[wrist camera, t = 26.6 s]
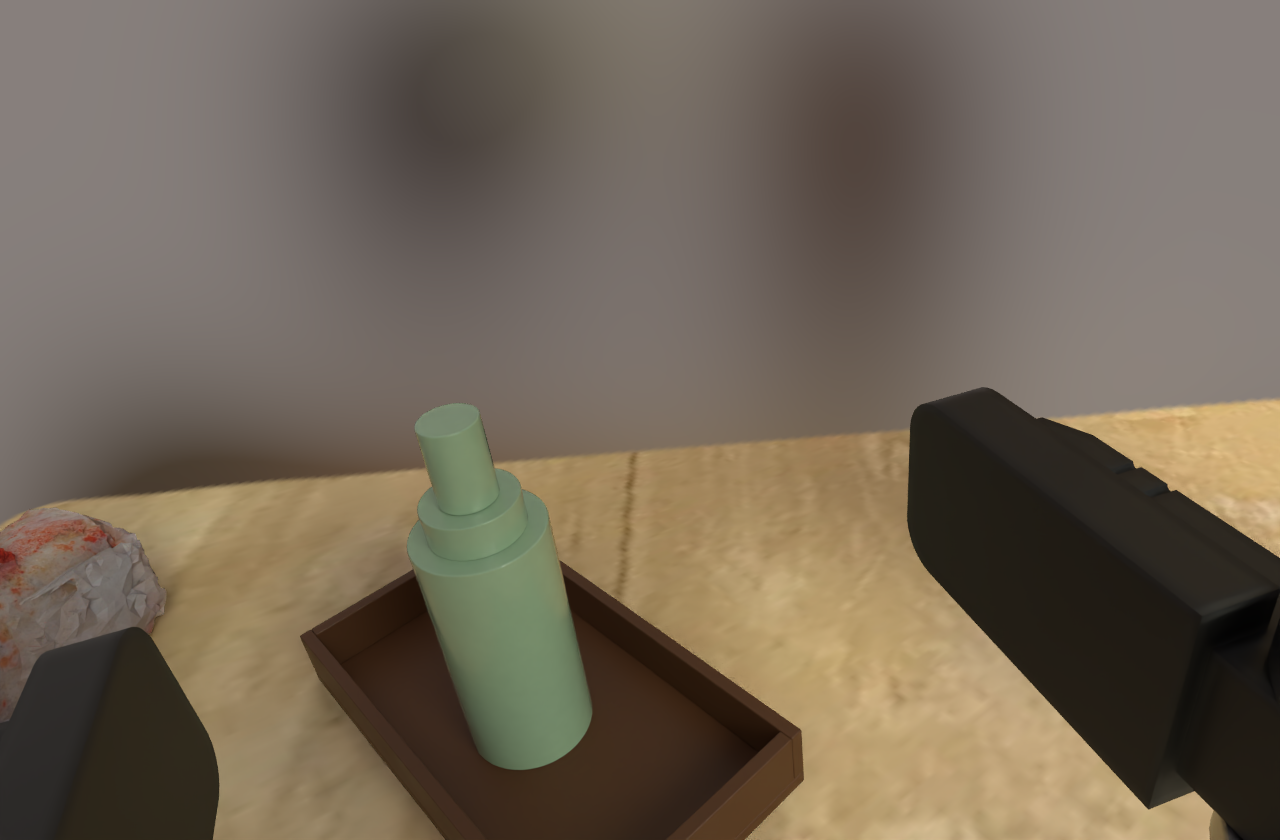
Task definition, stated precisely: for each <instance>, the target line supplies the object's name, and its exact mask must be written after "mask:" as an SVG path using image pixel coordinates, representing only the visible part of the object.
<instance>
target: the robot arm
mask: <svg viewBox="0 0 1280 840" xmlns="http://www.w3.org/2000/svg"><path fill="white" fill-rule="evenodd" d="M907 522H908V529H909V533H910V537H911V540H912V543H913V546H914V549H915V551H916V553H917V555H918V557H919V559H920V560H921V562H922V564H923V565H924V567H925V568H926V569H927V571H928V572H929V573H930V574H931V575H932V576H933V577H934V578H935V580H936V581H937V582H938V583H939V584H940V585H941V586H942V587H943V588H944V589H945V590H946V591H947V592H948V594H949V595H950V596H951V597H952V598H953V599H954V600H955V601H956V602H957V603H958V604H959V605H960V607H961V608H962V609H963V610H964V611H965V612H966V613H967V614H968V615H969V616H970V617H971V618H972V619H973V621H974V622H975V623H976V624H977V625H978V626H979V627H980V628H981V629H982V630H983V631H984V632H985V634H986V635H987V636H988V637H989V638H990V639H991V640H992V641H993V642H994V643H995V644H996V645H997V646H998V648H999V649H1000V650H1001V651H1002V652H1003V653H1004V654H1005V655H1006V656H1007V657H1008V658H1009V659H1010V661H1011V662H1012V663H1013V664H1014V665H1015V666H1016V667H1017V668H1018V669H1019V670H1020V671H1021V672H1022V674H1023V675H1024V676H1025V677H1026V678H1027V679H1028V680H1029V681H1030V682H1031V683H1032V684H1033V685H1034V686H1035V688H1036V689H1037V690H1038V691H1039V692H1040V693H1041V694H1042V695H1043V696H1044V697H1045V698H1046V699H1047V701H1048V702H1049V703H1050V704H1051V705H1052V706H1053V707H1054V708H1055V709H1056V710H1057V711H1058V712H1059V713H1060V715H1061V716H1062V717H1063V718H1064V719H1065V720H1066V721H1067V722H1068V723H1069V724H1070V725H1071V726H1072V728H1073V729H1074V730H1075V731H1076V732H1077V733H1078V734H1079V735H1080V736H1081V737H1082V738H1083V739H1084V740H1085V742H1086V743H1087V744H1088V745H1089V746H1090V747H1091V748H1092V749H1093V750H1094V751H1095V752H1096V753H1097V755H1098V756H1099V757H1100V758H1101V759H1102V760H1103V761H1104V762H1105V763H1106V764H1107V765H1108V766H1109V767H1110V769H1111V770H1112V771H1113V772H1114V773H1115V774H1116V775H1117V776H1118V777H1119V778H1120V779H1121V780H1122V782H1123V783H1124V784H1125V785H1126V786H1127V787H1128V788H1129V789H1130V790H1131V791H1132V792H1133V793H1134V795H1135V796H1136V797H1137V798H1138V799H1139V800H1140V801H1141V802H1142V803H1143V804H1144V805H1145V806H1146V807H1147V809H1151V808H1153V807H1156V806H1158V805H1161V804H1163V803H1166V802H1168V801H1171V800H1173V799H1176V798H1178V797H1181V796H1183V795H1186V794H1188V793H1191V792H1193V791H1195V792H1196V793H1197V794H1198V795H1199V796H1200V797H1201V798H1202V799H1203V800H1204V801H1205V802H1206V803H1207V804H1208V805H1209V806H1210V807H1211V808H1212V809H1213V810H1214V811H1213V814H1212V817H1211V821H1210V827H1209V831H1210V840H1280V558H1279V557H1277V556H1276V555H1274V554H1273V553H1271V552H1270V551H1268V550H1267V549H1265V548H1264V547H1262V546H1261V545H1259V544H1258V543H1256V542H1254V541H1253V540H1251V539H1250V538H1248V537H1247V536H1245V535H1244V534H1242V533H1241V532H1239V531H1238V530H1236V529H1235V528H1233V527H1232V526H1230V525H1229V524H1227V523H1226V522H1224V521H1223V520H1221V519H1220V518H1218V517H1216V516H1215V515H1213V514H1212V513H1210V512H1209V511H1207V510H1206V509H1204V508H1203V507H1201V506H1200V505H1198V504H1197V503H1195V502H1194V501H1192V500H1191V499H1189V498H1188V497H1186V496H1185V495H1183V494H1182V493H1180V492H1178V491H1177V490H1175V491H1172V492H1171V491H1170V490H1169V489H1168V487H1167V484H1166V483H1165V482H1163V481H1162V480H1160V479H1159V478H1157V477H1156V476H1154V475H1153V474H1151V473H1150V472H1148V471H1147V470H1145V469H1144V468H1142V467H1140V468H1137V469H1136V468H1135V467H1134V464H1133V461H1131V460H1130V459H1128V458H1127V457H1125V456H1124V455H1122V454H1121V453H1119V452H1118V451H1116V450H1115V449H1113V448H1112V447H1110V446H1109V445H1107V444H1106V443H1104V442H1102V441H1101V440H1099V439H1098V438H1096V437H1095V436H1093V435H1091V434H1088V433H1085V432H1082V431H1080V430H1077V429H1074V428H1071V427H1068V426H1065V425H1062V424H1060V423H1057V422H1054V421H1051V420H1048V419H1045V418H1038V419H1036V418H1034V417H1033V416H1031V415H1030V414H1028V413H1027V412H1025V411H1024V410H1023V409H1021V408H1020V407H1018V406H1017V405H1015V404H1014V403H1012V402H1011V401H1009V400H1008V399H1007V398H1005V397H1004V396H1002V395H1001V394H999V393H998V392H996V391H994V390H993V389H989V388H984V387H982V388H978V389H974V390H971V391H967V392H964V393H961V394H957V395H953V396H950V397H946V398H943V399H939V400H936V401H932V402H929V403H925V404H922V405H920V406H918V407H917V408H916V409H915V411H914V413H913V415H912V419H911V425H910V450H909V478H908V507H907ZM218 800H219V773H218V766H217V760H216V756H215V752H214V748H213V745H212V742H211V740H210V737H209V735H208V733H207V731H206V729H205V728H204V726H203V724H202V722H201V721H200V719H199V717H198V716H197V714H196V712H195V711H194V709H193V707H192V706H191V704H190V702H189V700H188V699H187V697H186V695H185V694H184V692H183V690H182V689H181V687H180V685H179V683H178V682H177V680H176V678H175V677H174V675H173V673H172V672H171V670H170V668H169V667H168V665H167V663H166V661H165V660H164V658H163V656H162V655H161V653H160V651H159V650H158V648H157V646H156V645H155V643H154V641H153V640H152V638H151V637H150V636H149V635H148V634H147V633H146V632H145V631H144V630H143V629H141V628H139V627H130V628H126V629H123V630H119V631H116V632H112V633H109V634H105V635H102V636H98V637H95V638H91V639H88V640H84V641H81V642H77V643H74V644H70V645H67V646H63V647H59V648H56V649H52V650H49V651H46V652H44V653H43V654H41V655H40V657H39V658H38V659H37V660H36V662H35V664H34V666H33V668H32V670H31V672H30V675H29V677H28V679H27V682H26V684H25V686H24V688H23V691H22V693H21V695H20V697H19V700H18V702H17V704H16V707H15V709H14V711H13V713H12V716H11V718H10V720H9V721H6V722H2V723H0V840H213V833H214V827H215V820H216V814H217V807H218Z"/></svg>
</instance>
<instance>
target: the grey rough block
mask: <svg viewBox="0 0 1280 840" xmlns="http://www.w3.org/2000/svg"><path fill="white" fill-rule="evenodd" d="M166 597H167V592H166V590H165V588H161V587H160V586H159V584H158V577H157V576H156V575H155V573H154V572H153V570H152V568H151V566H150V564H149V560H148V558H147V557H146V555H145V554H144V549H143V548H142V545H141V543H140V540H137V537H136V534H135V533H129V532H127V531H126V530H124V529H122V528H114V527H113V526H112V525H111V523H108V522H105V521H102V520H99V519H95V518H92V517H89V516H86V515H81V514H79V513H76V512H71V511H66V510H60V509H58V508H42V509H29V510H28V511H27V512H25V513H24V514H23V516H22V517H21V518H20V519H19V520H17V521H16V522H14V523H12V524H10V525H8V526H7V527H6V528H5V529H4V530H3V531H2V532H0V723H2V722H6V721H9V720H10V718H11V716H12V713H13V711H14V709H15V707H16V704H17V702H18V700H19V697H20V695H21V693H22V691H23V688H24V686H25V684H26V682H27V679H28V677H29V675H30V672H31V670H32V668H33V666H34V664H35V662H36V660H37V659H38V658H39V657H40V655H41V654H43V653H44V652H46V651H49V650H52V649H56V648H59V647H63V646H67V645H70V644H74V643H77V642H81V641H84V640H88V639H91V638H95V637H98V636H102V635H105V634H109V633H112V632H116V631H119V630H123V629H126V628H130V627H139V628H141V629H143V630H144V631H145V632H146V633H147V634H150V633H152V629H153V626H154V620H155V617H157V616H160V615H163V614H164V605H165V603H166Z"/></svg>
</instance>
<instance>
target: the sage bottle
mask: <svg viewBox="0 0 1280 840" xmlns="http://www.w3.org/2000/svg"><path fill="white" fill-rule="evenodd" d="M414 430H415V433H416V436H417V440H418V443H419V446H420V450H421V453H422V456H423V459H424V462H425V466H426V469H427V472H428V475H429V479H430V482H431V485H432V487H430V488H429V489H428V490H427V491H426V492H425V493H424V495H423V496H422V497H421V499H420V501H419V504H418V508H417V513H418V517H419V520H418V521H417V523H416V524H415V525H414V527H413V528H412V530H411V532H410V534H409V537H408V541H407V552H408V556H409V559H410V562H411V564H412V567H413V570H414V573H415V576H416V579H417V582H418V585H419V588H420V591H421V593H422V596H423V599H424V602H425V605H426V608H427V611H428V614H429V617H430V620H431V622H432V625H433V628H434V631H435V634H436V637H437V640H438V643H439V646H440V649H441V651H442V654H443V657H444V660H445V663H446V666H447V669H448V672H449V675H450V678H451V680H452V683H453V686H454V689H455V692H456V695H457V698H458V701H459V704H460V707H461V709H462V712H463V715H464V718H465V721H466V724H467V727H468V730H469V733H470V736H471V738H472V741H473V744H474V746H475V748H476V750H477V751H478V753H479V754H480V755H481V756H482V757H483V758H484V759H485V760H487V761H488V762H490V763H491V764H493V765H496V766H498V767H501V768H505V769H510V770H528V769H534V768H539V767H542V766H545V765H548V764H550V763H552V762H554V761H556V760H558V759H560V758H561V757H563V756H564V755H566V754H567V753H568V752H570V751H571V750H572V749H573V748H574V747H575V746H576V745H577V744H578V743H579V742H580V741H581V739H582V738H583V736H584V735H585V733H586V731H587V729H588V727H589V724H590V722H591V717H592V700H591V696H590V691H589V687H588V683H587V678H586V674H585V670H584V665H583V661H582V657H581V652H580V648H579V644H578V639H577V635H576V631H575V626H574V622H573V617H572V613H571V609H570V604H569V600H568V596H567V591H566V587H565V583H564V578H563V574H562V570H561V565H560V561H559V557H558V552H557V548H556V544H555V539H554V535H553V531H552V526H551V522H550V517H549V513H548V510H547V507H546V506H545V504H544V503H543V502H542V501H541V499H540V498H538V497H537V496H536V495H534V494H532V493H530V492H528V491H525V490H522V489H521V485H520V482H519V481H518V479H517V478H516V477H515V476H514V475H513V474H511V473H509V472H507V471H504V470H501V469H496V468H494V465H493V461H492V457H491V453H490V449H489V446H488V442H487V438H486V434H485V430H484V427H483V423H482V419H481V415H480V412H479V410H478V409H477V408H476V407H475V406H473V405H470V404H466V403H453V404H447V405H443V406H439V407H437V408H434V409H432V410H430V411H428V412H426V413H425V414H423V415H422V416H421V417H420V418H419V419H418V420H417V421H416V423H415V427H414Z"/></svg>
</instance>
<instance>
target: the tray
mask: <svg viewBox="0 0 1280 840" xmlns="http://www.w3.org/2000/svg"><path fill="white" fill-rule="evenodd" d="M559 561H560V560H559ZM560 565H561V570H562V574H563V578H564V583H565V587H566V591H567V596H568V600H569V604H570V609H571V613H572V617H573V622H574V626H575V631H576V635H577V639H578V644H579V648H580V652H581V657H582V661H583V665H584V670H585V674H586V678H587V683H588V687H589V691H590V696H591V700H592V717H591V722H590V724H589V727H588V729H587V731H586V733H585V735H584V736H583V738H582V739H581V741H580V742H579V743H578V744H577V745H576V746H575V747H574V748H573V749H572V750H571V751H570V752H568V753H567V754H566V755H564V756H563V757H561V758H560V759H558V760H556V761H554V762H552V763H550V764H548V765H545V766H542V767H539V768H534V769H528V770H510V769H505V768H501V767H498V766H496V765H493V764H491V763H490V762H488V761H487V760H485V759H484V758H483V757H482V756H481V755H480V754H479V753H478V751H477V750H476V748H475V746H474V744H473V741H472V738H471V736H470V733H469V730H468V727H467V724H466V721H465V718H464V715H463V712H462V709H461V707H460V704H459V701H458V698H457V695H456V692H455V689H454V686H453V683H452V680H451V678H450V675H449V672H448V669H447V666H446V663H445V660H444V657H443V654H442V651H441V649H440V646H439V643H438V640H437V637H436V634H435V631H434V628H433V625H432V622H431V620H430V617H429V614H428V611H427V608H426V605H425V602H424V599H423V596H422V593H421V591H420V588H419V585H418V582H417V579H416V576H415V573H414V570H412V571H410V572H408V573H406V574H405V575H403V576H401V577H400V578H398V579H396V580H394V581H393V582H391V583H389V584H388V585H386V586H384V587H383V588H381V589H379V590H377V591H376V592H374V593H372V594H371V595H369V596H367V597H366V598H364V599H362V600H360V601H359V602H357V603H355V604H354V605H352V606H350V607H349V608H347V609H345V610H343V611H342V612H340V613H338V614H337V615H335V616H333V617H331V618H330V619H328V620H326V621H325V622H323V623H321V624H320V625H318V626H316V627H314V628H313V629H312V630H309V631H307V632H306V633H304V634H302V635H301V636H300V638H301V640H302V642H303V644H304V647H305V649H306V651H307V653H308V655H309V658H310V660H311V662H312V664H313V666H314V668H315V671H316V672H317V675H318V677H319V679H320V681H321V682H322V683H323V684H324V686H325V687H326V688H327V689H328V691H329V692H330V693H331V695H332V696H333V697H334V698H335V700H336V701H337V702H338V703H339V705H340V706H341V707H342V709H343V710H344V711H345V712H346V714H347V715H348V716H349V717H350V719H351V720H352V721H353V722H354V724H355V725H356V726H357V728H358V729H359V730H360V731H361V733H362V734H363V735H364V736H365V738H366V739H367V740H368V741H369V743H370V744H371V745H372V747H373V748H374V749H375V750H376V752H377V753H378V754H379V755H380V757H381V758H382V759H383V761H384V762H385V763H386V764H387V766H388V767H389V768H390V769H391V771H392V772H393V773H394V774H395V776H396V777H397V778H398V780H399V781H400V782H401V783H402V785H403V786H404V787H405V788H406V790H407V791H408V792H409V793H410V795H411V796H412V797H413V799H414V800H415V801H416V802H417V804H418V805H419V806H420V807H421V809H422V810H423V811H424V813H425V814H426V815H427V816H428V818H429V819H430V820H431V821H432V823H433V824H434V825H435V826H436V828H437V829H438V830H439V832H440V833H441V834H442V835H443V837H444V838H445V839H446V840H744V839H745V838H746V837H747V836H748V835H749V834H750V833H751V832H752V831H753V830H754V829H755V828H756V827H757V826H758V825H759V824H760V823H761V822H762V821H763V820H764V819H765V818H766V817H767V816H768V815H769V814H770V813H771V812H772V811H773V810H774V809H775V808H776V807H777V806H778V805H779V804H780V803H781V802H782V801H783V800H784V799H785V798H786V797H787V796H788V795H789V794H790V793H791V792H792V791H793V790H794V789H795V788H796V787H797V786H798V785H799V784H800V783H801V782H802V781H803V780H804V774H803V754H802V734H801V730H800V729H799V728H798V727H796V726H795V725H793V724H792V723H790V722H789V721H788V720H786V719H785V718H783V717H782V716H780V715H779V714H778V713H776V712H775V711H773V710H772V709H771V708H769V707H768V706H766V705H765V704H763V703H762V702H761V701H759V700H758V699H756V698H755V697H753V696H752V695H751V694H749V693H748V692H746V691H745V690H744V689H742V688H741V687H739V686H738V685H736V684H735V683H734V682H732V681H731V680H729V679H728V678H726V677H725V676H724V675H722V674H721V673H719V672H718V671H716V670H715V669H714V668H712V667H711V666H709V665H708V664H707V663H705V662H704V661H702V660H701V659H699V658H698V657H697V656H695V655H694V654H692V653H691V652H689V651H688V650H687V649H685V648H684V647H682V646H681V645H680V644H678V643H677V642H675V641H674V640H672V639H671V638H670V637H668V636H667V635H665V634H664V633H662V632H661V631H660V630H658V629H657V628H655V627H654V626H652V625H651V624H650V623H648V622H647V621H645V620H644V619H643V618H641V617H640V616H638V615H637V614H635V613H634V612H633V611H631V610H630V609H628V608H627V607H625V606H624V605H623V604H621V603H620V602H618V601H617V600H616V599H614V598H613V597H611V596H610V595H608V594H607V593H606V592H604V591H603V590H601V589H600V588H598V587H597V586H596V585H594V584H593V583H591V582H590V581H588V580H587V579H586V578H584V577H583V576H581V575H580V574H579V573H577V572H576V571H574V570H573V569H571V568H570V567H569V566H567V565H566V564H564V563H563V562H561V561H560Z"/></svg>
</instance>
